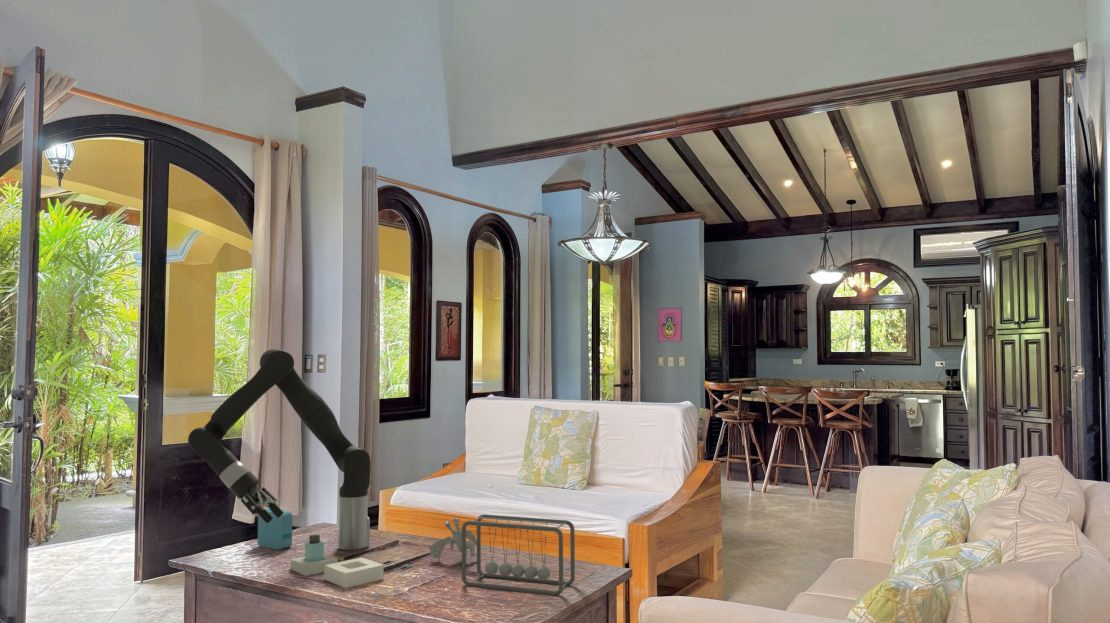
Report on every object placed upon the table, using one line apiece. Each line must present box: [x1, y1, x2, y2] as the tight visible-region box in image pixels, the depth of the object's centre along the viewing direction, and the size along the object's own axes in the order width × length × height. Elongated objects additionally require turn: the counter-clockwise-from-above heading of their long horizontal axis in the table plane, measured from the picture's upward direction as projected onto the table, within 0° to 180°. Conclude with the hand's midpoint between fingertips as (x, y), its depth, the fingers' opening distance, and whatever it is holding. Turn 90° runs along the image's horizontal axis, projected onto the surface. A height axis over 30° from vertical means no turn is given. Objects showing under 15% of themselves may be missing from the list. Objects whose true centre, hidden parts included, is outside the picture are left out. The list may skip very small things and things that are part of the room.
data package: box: [257, 508, 293, 550], centre depth 255 cm, size 12×4×12 cm, turn 60°
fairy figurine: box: [428, 517, 477, 561], centre depth 234 cm, size 10×18×14 cm, turn 65°
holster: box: [290, 553, 339, 577], centre depth 227 cm, size 10×10×3 cm
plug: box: [304, 534, 325, 562], centre depth 227 cm, size 4×4×10 cm
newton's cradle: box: [461, 514, 576, 596], centre depth 210 cm, size 30×10×18 cm, turn 69°
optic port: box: [323, 556, 385, 589], centre depth 216 cm, size 12×12×4 cm
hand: (275, 518), depth 228 cm, fingers open, 8 cm apart
